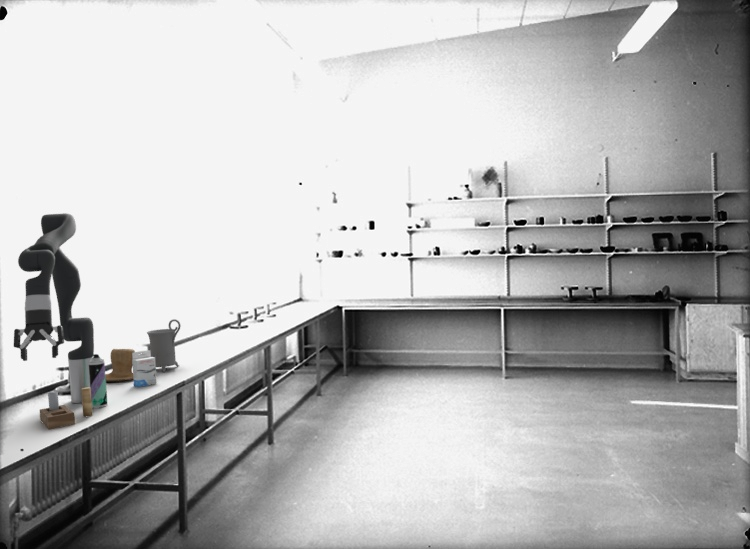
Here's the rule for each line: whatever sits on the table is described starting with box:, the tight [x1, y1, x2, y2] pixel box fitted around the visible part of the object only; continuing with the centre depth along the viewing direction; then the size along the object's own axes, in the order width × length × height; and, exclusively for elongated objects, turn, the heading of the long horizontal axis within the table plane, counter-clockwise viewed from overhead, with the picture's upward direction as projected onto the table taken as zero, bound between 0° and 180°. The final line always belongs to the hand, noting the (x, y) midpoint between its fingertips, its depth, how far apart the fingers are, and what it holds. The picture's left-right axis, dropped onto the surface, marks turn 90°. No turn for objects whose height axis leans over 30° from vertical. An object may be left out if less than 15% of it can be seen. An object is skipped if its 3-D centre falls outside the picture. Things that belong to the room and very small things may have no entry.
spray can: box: [89, 353, 108, 409], centre depth 226 cm, size 6×6×20 cm
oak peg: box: [81, 387, 94, 418], centre depth 213 cm, size 3×3×10 cm
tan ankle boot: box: [105, 348, 136, 383], centre depth 273 cm, size 15×12×15 cm
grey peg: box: [47, 390, 60, 411], centre depth 209 cm, size 3×3×10 cm
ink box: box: [132, 349, 158, 388], centre depth 261 cm, size 9×5×15 cm, turn 133°
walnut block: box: [39, 404, 76, 430], centre depth 206 cm, size 15×8×4 cm, turn 39°
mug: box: [146, 318, 181, 373], centre depth 294 cm, size 19×15×25 cm
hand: (39, 359), depth 192 cm, fingers open, 8 cm apart
